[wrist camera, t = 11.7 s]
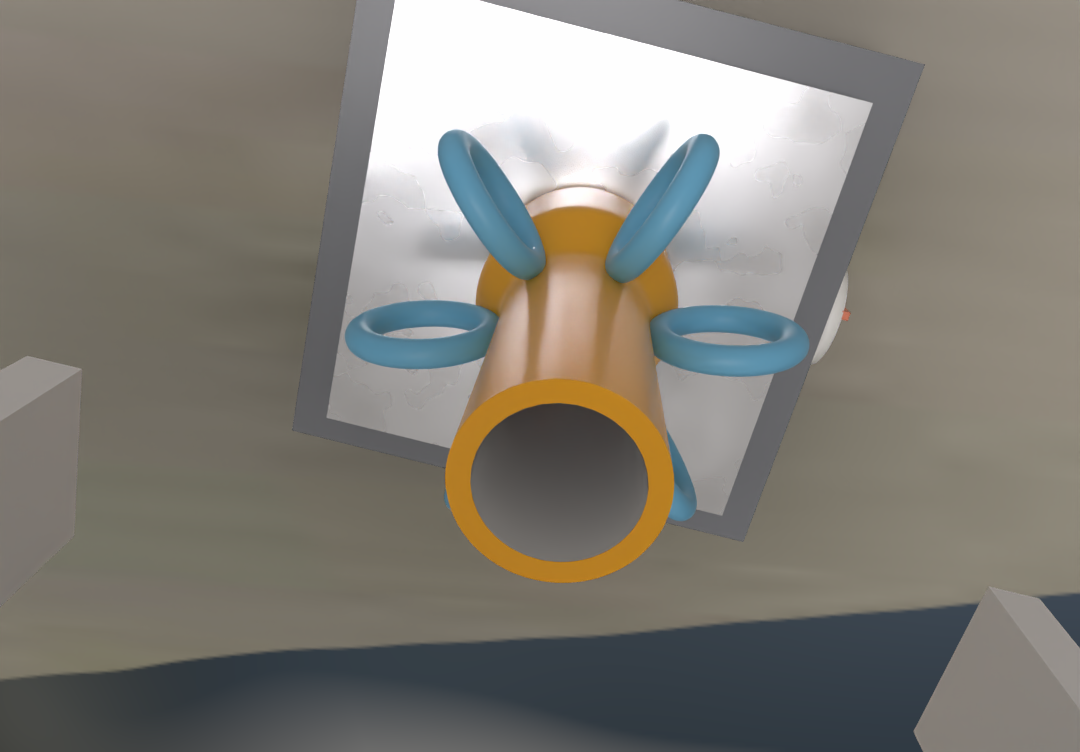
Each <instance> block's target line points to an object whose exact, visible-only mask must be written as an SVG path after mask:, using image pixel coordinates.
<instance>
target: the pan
mask: <svg viewBox="0 0 1080 752" xmlns="http://www.w3.org/2000/svg"><path fill="white" fill-rule="evenodd" d="M872 104H873V103H870V102H867V101H863V100H859V99H855V98H851V97H847V96H844V95H840V94H836V93H832V92H828V91H824V90H820V89H817V88H813V87H809V86H805V85H801V84H797V83H793V82H790V81H786V80H782V79H778V78H774V77H770V76H767V75H763V74H759V73H755V72H751V71H747V70H743V69H740V68H736V67H732V66H728V65H724V64H720V63H716V62H713V61H709V60H705V59H701V58H697V57H693V56H690V55H686V54H682V53H678V52H674V51H670V50H666V49H663V48H659V47H655V46H651V45H647V44H643V43H639V42H636V41H632V40H628V39H624V38H620V37H616V36H613V35H609V34H605V33H601V32H597V31H593V30H589V29H586V28H582V27H578V26H574V25H570V24H566V23H562V22H559V21H555V20H551V19H547V18H543V17H539V16H536V15H532V14H528V13H524V12H520V11H516V10H512V9H509V8H505V7H501V6H497V5H493V4H489V3H486V2H482V1H478V0H395V6H394V12H393V18H392V24H391V30H390V36H389V42H388V48H387V54H386V60H385V66H384V73H383V79H382V85H381V91H380V97H379V103H378V109H377V115H376V121H375V127H374V133H373V139H372V145H371V151H370V157H369V163H368V169H367V175H366V182H365V188H364V194H363V200H362V206H361V212H360V218H359V224H358V230H357V236H356V242H355V248H354V254H353V260H352V266H351V272H350V278H349V284H348V291H347V297H346V303H345V309H344V315H343V321H342V327H341V333H340V339H339V345H338V351H337V357H336V363H335V369H334V375H333V381H332V387H331V393H330V400H329V406H328V412H327V418H329V419H333V420H337V421H342V422H346V423H350V424H354V425H358V426H362V427H366V428H370V429H374V430H378V431H382V432H386V433H390V434H394V435H398V436H402V437H406V438H410V439H414V440H418V441H422V442H426V443H430V444H434V445H438V446H443V447H447V448H451V445H452V443H453V440H454V437H455V435H456V432H457V429H458V427H459V424H460V422H461V419H462V416H463V414H464V411H465V408H466V406H467V403H468V400H469V398H470V395H471V392H472V390H473V387H474V384H475V382H476V379H477V376H478V374H479V371H480V368H481V366H482V363H483V360H484V358H485V357H483V358H480V359H478V360H475V361H472V362H469V363H465V364H461V365H457V366H451V367H445V368H435V369H399V368H390V367H384V366H379V365H375V364H372V363H369V362H366V361H364V360H362V359H360V358H358V357H357V356H355V355H354V354H353V353H352V352H351V351H350V350H349V348H348V347H347V345H346V342H345V331H346V328H347V326H348V325H349V323H350V322H351V321H352V320H353V319H354V318H355V317H357V316H358V315H360V314H362V313H363V312H366V311H368V310H370V309H373V308H376V307H380V306H384V305H388V304H393V303H399V302H406V301H418V300H448V301H458V302H465V303H470V304H474V305H476V291H477V285H478V281H479V277H480V274H481V271H482V268H483V266H484V264H485V261H486V259H487V257H488V255H489V254H490V252H489V251H488V250H487V249H486V247H485V246H484V245H483V243H482V242H481V241H480V239H479V238H478V236H477V235H476V234H475V232H474V231H473V229H472V228H471V226H470V225H469V223H468V222H467V220H466V218H465V217H464V215H463V213H462V212H461V210H460V208H459V206H458V205H457V203H456V201H455V199H454V197H453V195H452V193H451V191H450V189H449V187H448V185H447V183H446V180H445V178H444V175H443V173H442V170H441V167H440V163H439V159H438V143H439V140H440V138H441V137H442V135H443V134H444V133H446V132H447V131H449V130H452V129H460V130H463V131H466V132H467V133H469V134H471V135H472V136H473V137H474V138H476V139H477V140H478V141H479V142H480V143H481V144H482V145H483V146H484V148H485V149H486V150H487V151H488V152H489V153H490V155H491V156H492V157H493V158H494V160H495V161H496V162H497V164H498V165H499V166H500V168H501V169H502V171H503V172H504V173H505V175H506V176H507V178H508V179H509V181H510V182H511V184H512V185H513V187H514V189H515V190H516V192H517V193H518V195H519V197H520V198H521V200H522V202H523V204H524V205H526V204H528V203H529V202H530V201H532V200H534V199H536V198H537V197H539V196H541V195H544V194H546V193H549V192H552V191H555V190H559V189H563V188H571V187H589V188H596V189H601V190H605V191H608V192H611V193H614V194H616V195H618V196H620V197H622V198H624V199H626V200H628V201H629V202H631V203H632V204H634V205H635V204H636V202H637V201H638V199H639V198H640V196H641V195H642V193H643V192H644V191H645V189H646V188H647V186H648V185H649V184H650V182H651V181H652V179H653V178H654V177H655V175H656V174H657V173H658V172H659V170H660V169H661V168H662V166H663V165H664V164H665V163H666V161H667V160H668V159H669V158H670V157H671V156H672V154H673V153H674V152H675V151H676V150H677V149H678V148H679V147H680V146H681V145H682V144H683V143H684V142H685V141H686V140H688V139H689V138H690V137H692V136H694V135H696V134H701V133H704V134H709V135H711V136H712V137H714V138H715V139H716V141H717V142H718V145H719V149H720V155H719V161H718V164H717V167H716V169H715V172H714V174H713V176H712V178H711V180H710V182H709V184H708V186H707V188H706V190H705V192H704V193H703V195H702V197H701V198H700V200H699V202H698V203H697V205H696V206H695V208H694V210H693V211H692V213H691V214H690V216H689V217H688V219H687V220H686V222H685V223H684V224H683V226H682V227H681V229H680V230H679V231H678V233H677V234H676V235H675V237H674V238H673V239H672V241H671V242H670V243H669V245H668V246H667V247H666V251H667V254H668V257H669V260H670V263H671V267H672V270H673V273H674V276H675V280H676V285H677V291H678V308H682V307H689V306H700V305H728V306H740V307H748V308H754V309H759V310H764V311H768V312H772V313H775V314H778V315H781V316H784V317H786V318H788V319H790V320H792V321H794V318H795V315H796V312H797V310H798V307H799V304H800V301H801V299H802V296H803V293H804V290H805V288H806V285H807V282H808V279H809V277H810V274H811V271H812V269H813V266H814V263H815V260H816V258H817V255H818V252H819V249H820V247H821V244H822V241H823V238H824V236H825V233H826V230H827V227H828V225H829V222H830V219H831V217H832V214H833V211H834V208H835V206H836V203H837V200H838V197H839V195H840V192H841V189H842V186H843V184H844V181H845V178H846V175H847V173H848V170H849V167H850V165H851V162H852V159H853V156H854V154H855V151H856V148H857V145H858V143H859V140H860V137H861V134H862V132H863V129H864V126H865V123H866V121H867V118H868V115H869V113H870V110H871V107H872ZM465 332H468V331H467V330H463V329H458V328H450V327H416V328H407V329H401V330H396V331H392V332H389V333H385V334H383V335H384V336H389V337H396V338H409V339H425V338H438V337H446V336H452V335H457V334H461V333H465ZM682 337H684V338H687V339H691V340H695V341H699V342H705V343H711V344H720V345H758V344H765V343H770V342H769V341H767V340H764V339H761V338H757V337H753V336H748V335H742V334H734V333H721V332H705V333H693V334H687V335H682ZM656 370H657V376H658V382H659V388H660V394H661V400H662V406H663V412H664V418H665V424H666V429H667V430H668V432H669V434H670V436H671V437H672V439H673V441H674V443H675V445H676V447H677V449H678V451H679V453H680V455H681V457H682V459H683V461H684V463H685V466H686V468H687V470H688V473H689V475H690V478H691V480H692V483H693V486H694V489H695V493H696V498H697V507H696V509H697V510H701V511H705V512H709V513H713V514H717V515H721V516H722V515H723V512H724V509H725V507H726V504H727V501H728V498H729V496H730V493H731V490H732V487H733V485H734V482H735V479H736V476H737V474H738V471H739V468H740V466H741V463H742V460H743V457H744V455H745V452H746V449H747V446H748V444H749V441H750V438H751V435H752V433H753V430H754V427H755V424H756V422H757V419H758V416H759V414H760V411H761V408H762V405H763V403H764V400H765V397H766V394H767V392H768V389H769V386H770V383H771V381H772V378H773V375H774V374H769V375H762V376H751V377H728V376H716V375H708V374H701V373H696V372H692V371H688V370H684V369H681V368H677V367H675V366H672V365H670V364H667V363H665V362H663V361H662V360H660V362H659V363H658V364H657V366H656Z"/></svg>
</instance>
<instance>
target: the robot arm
mask: <svg viewBox="0 0 1080 752" xmlns="http://www.w3.org/2000/svg"><path fill="white" fill-rule="evenodd" d="M81 384H82V369H80V368H76V367H72V366H68V365H64V364H60V363H55V362H51V361H47V360H43V359H39V358H35V357H30V356H26V357H24V358H22V359H20V360H18V361H17V362H15V363H13V364H11V365H9V366H8V367H6V368H4V369H2V370H0V607H1V606H2V605H3V604H4V603H5V602H6V601H7V600H8V599H9V598H10V597H11V596H12V595H13V594H14V593H15V592H16V591H17V590H18V589H19V588H21V587H22V586H23V585H24V584H25V583H26V582H27V581H28V580H29V579H30V578H31V577H32V576H33V575H34V574H35V573H36V572H37V571H38V570H39V569H40V568H41V567H42V566H44V565H45V564H46V563H47V562H48V561H49V560H50V559H51V558H52V557H53V556H54V555H55V554H56V553H57V552H58V551H59V550H60V549H61V548H62V547H63V546H64V545H66V544H67V543H68V542H69V541H70V540H71V539H72V538H73V537H74V530H75V509H76V488H77V467H78V447H79V426H80V405H81ZM914 733H915V736H916V738H917V740H918V742H919V744H920V746H921V748H922V750H923V752H1080V648H1079V647H1078V646H1077V644H1076V643H1075V642H1074V641H1073V639H1072V638H1071V637H1070V636H1069V635H1068V633H1067V632H1066V631H1065V630H1064V628H1063V627H1062V626H1061V625H1060V624H1059V622H1058V621H1057V620H1056V619H1055V617H1054V616H1053V615H1052V614H1051V612H1050V611H1049V610H1048V609H1047V608H1046V606H1045V605H1044V604H1043V603H1042V601H1041V600H1040V599H1039V598H1035V597H1031V596H1027V595H1022V594H1018V593H1014V592H1010V591H1006V590H1001V589H997V588H993V587H989V586H988V588H987V590H986V592H985V594H984V596H983V598H982V600H981V602H980V604H979V606H978V608H977V610H976V612H975V613H974V615H973V617H972V619H971V621H970V623H969V625H968V627H967V629H966V631H965V633H964V635H963V637H962V639H961V641H960V643H959V645H958V646H957V648H956V650H955V652H954V654H953V656H952V658H951V660H950V662H949V664H948V666H947V668H946V670H945V672H944V674H943V676H942V677H941V679H940V681H939V683H938V685H937V687H936V689H935V691H934V693H933V695H932V697H931V699H930V701H929V703H928V705H927V707H926V708H925V710H924V712H923V714H922V716H921V718H920V720H919V722H918V724H917V726H916V728H915V730H914Z"/></svg>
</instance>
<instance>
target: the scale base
mask: <svg viewBox="0 0 1080 752" xmlns="http://www.w3.org/2000/svg"><path fill="white" fill-rule="evenodd" d="M478 1H482V2H486V3H489V4H493V5H497V6H501V7H505V8H509V9H512V10H516V11H520V12H524V13H528V14H532V15H536V16H539V17H543V18H547V19H551V20H555V21H559V22H562V23H566V24H570V25H574V26H578V27H582V28H586V29H589V30H593V31H597V32H601V33H605V34H609V35H613V36H616V37H620V38H624V39H628V40H632V41H636V42H639V43H643V44H647V45H651V46H655V47H659V48H663V49H666V50H670V51H674V52H678V53H682V54H686V55H690V56H693V57H697V58H701V59H705V60H709V61H713V62H716V63H720V64H724V65H728V66H732V67H736V68H740V69H743V70H747V71H751V72H755V73H759V74H763V75H767V76H770V77H774V78H778V79H782V80H786V81H790V82H793V83H797V84H801V85H805V86H809V87H813V88H817V89H820V90H824V91H828V92H832V93H836V94H840V95H844V96H847V97H851V98H855V99H859V100H863V101H867V102H870V103H873V104H872V107H871V110H870V113H869V115H868V118H867V121H866V123H865V126H864V129H863V132H862V134H861V137H860V140H859V143H858V145H857V148H856V151H855V154H854V156H853V159H852V162H851V165H850V167H849V170H848V173H847V175H846V178H845V181H844V184H843V186H842V189H841V192H840V195H839V197H838V200H837V203H836V206H835V208H834V211H833V214H832V217H831V219H830V222H829V225H828V227H827V230H826V233H825V236H824V238H823V241H822V244H821V247H820V249H819V252H818V255H817V258H816V260H815V263H814V266H813V269H812V271H811V274H810V277H809V279H808V282H807V285H806V288H805V290H804V293H803V296H802V299H801V301H800V304H799V307H798V310H797V312H796V315H795V318H794V322H796V323H797V324H798V325H800V326H801V327H802V328H803V329H804V330H805V332H806V333H807V335H808V338H809V351H808V353H807V355H806V357H805V358H804V359H803V360H802V361H801V362H800V363H799V364H797V365H796V366H794V367H792V368H790V369H788V370H785V371H782V372H778V373H774V375H773V378H772V381H771V383H770V386H769V389H768V392H767V394H766V397H765V400H764V403H763V405H762V408H761V411H760V414H759V416H758V419H757V422H756V424H755V427H754V430H753V433H752V435H751V438H750V441H749V444H748V446H747V449H746V452H745V455H744V457H743V460H742V463H741V466H740V468H739V471H738V474H737V476H736V479H735V482H734V485H733V487H732V490H731V493H730V496H729V498H728V501H727V504H726V507H725V509H724V512H723V515H722V516H721V515H717V514H713V513H709V512H705V511H701V510H697V509H696V511H695V513H694V515H693V516H692V517H691V518H690V519H688V520H685V521H675V520H673V519H671V518H669V517H668V518H667V520H666V523H669V524H673V525H677V526H681V527H685V528H689V529H693V530H698V531H702V532H706V533H710V534H714V535H718V536H722V537H726V538H730V539H734V540H738V541H742V542H743V541H744V539H745V536H746V533H747V531H748V528H749V525H750V523H751V520H752V518H753V515H754V512H755V510H756V507H757V504H758V502H759V499H760V497H761V494H762V491H763V489H764V486H765V483H766V481H767V478H768V476H769V473H770V470H771V468H772V465H773V462H774V460H775V457H776V454H777V452H778V449H779V447H780V444H781V441H782V439H783V436H784V433H785V431H786V428H787V426H788V423H789V420H790V418H791V415H792V412H793V410H794V407H795V405H796V402H797V399H798V397H799V394H800V391H801V389H802V386H803V384H804V381H805V378H806V376H807V373H808V370H809V368H810V365H811V364H815V363H817V362H818V361H819V360H820V359H821V358H822V357H823V356H824V355H825V353H826V352H827V350H828V349H829V347H830V345H831V343H832V341H833V339H834V337H835V335H836V333H837V330H838V328H839V325H840V322H841V319H842V320H846V321H848V318H849V316H850V312H849V311H848V310H847V309H846V308H845V304H846V298H847V291H848V272H847V268H848V265H849V263H850V260H851V257H852V255H853V252H854V250H855V247H856V244H857V242H858V239H859V236H860V234H861V231H862V229H863V226H864V223H865V221H866V218H867V215H868V213H869V210H870V207H871V205H872V202H873V200H874V197H875V194H876V192H877V189H878V186H879V184H880V181H881V179H882V176H883V173H884V171H885V168H886V165H887V163H888V160H889V158H890V155H891V152H892V150H893V147H894V144H895V142H896V139H897V137H898V134H899V131H900V129H901V126H902V123H903V121H904V118H905V116H906V113H907V110H908V108H909V105H910V102H911V100H912V97H913V95H914V92H915V89H916V87H917V84H918V81H919V79H920V76H921V73H922V71H923V68H924V66H925V64H921V63H917V62H913V61H910V60H906V59H902V58H898V57H894V56H890V55H887V54H883V53H879V52H875V51H871V50H867V49H864V48H860V47H856V46H852V45H848V44H844V43H841V42H837V41H833V40H829V39H825V38H821V37H818V36H814V35H810V34H806V33H802V32H798V31H795V30H791V29H787V28H783V27H779V26H776V25H772V24H768V23H764V22H760V21H756V20H753V19H749V18H745V17H741V16H737V15H733V14H730V13H726V12H722V11H718V10H714V9H710V8H707V7H703V6H699V5H695V4H691V3H687V2H684V1H680V0H478ZM394 6H395V0H357V2H356V9H355V15H354V22H353V28H352V35H351V42H350V48H349V55H348V62H347V68H346V75H345V82H344V88H343V95H342V102H341V108H340V115H339V122H338V128H337V135H336V142H335V148H334V155H333V162H332V168H331V175H330V182H329V188H328V195H327V202H326V208H325V215H324V222H323V228H322V235H321V242H320V248H319V255H318V262H317V268H316V275H315V282H314V288H313V295H312V302H311V308H310V315H309V322H308V328H307V335H306V342H305V348H304V355H303V362H302V368H301V375H300V382H299V388H298V395H297V402H296V408H295V415H294V422H293V428H292V430H293V431H297V432H301V433H305V434H309V435H313V436H317V437H321V438H325V439H329V440H333V441H337V442H341V443H345V444H349V445H353V446H357V447H361V448H365V449H370V450H374V451H378V452H382V453H386V454H390V455H394V456H398V457H402V458H406V459H410V460H414V461H418V462H422V463H426V464H430V465H434V466H438V467H442V468H446V463H447V458H448V454H449V451H450V448H447V447H443V446H438V445H434V444H430V443H426V442H422V441H418V440H414V439H410V438H406V437H402V436H398V435H394V434H390V433H386V432H382V431H378V430H374V429H370V428H366V427H362V426H358V425H354V424H350V423H346V422H342V421H337V420H333V419H329V418H327V412H328V406H329V400H330V393H331V387H332V381H333V375H334V369H335V363H336V357H337V351H338V345H339V339H340V333H341V327H342V321H343V315H344V309H345V303H346V297H347V291H348V284H349V278H350V272H351V266H352V260H353V254H354V248H355V242H356V236H357V230H358V224H359V218H360V212H361V206H362V200H363V194H364V188H365V182H366V175H367V169H368V163H369V157H370V151H371V145H372V139H373V133H374V127H375V121H376V115H377V109H378V103H379V97H380V91H381V85H382V79H383V73H384V66H385V60H386V54H387V48H388V42H389V36H390V30H391V24H392V18H393V12H394Z"/></svg>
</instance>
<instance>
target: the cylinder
mask: <svg viewBox="0 0 1080 752" xmlns="http://www.w3.org/2000/svg"><path fill="white" fill-rule="evenodd" d="M719 155H720V149H719V145H718V142H717V141H716V139H715V138H714V137H712V136H711V135H709V134H704V133H701V134H696V135H694V136H692V137H690V138H689V139H688V140H686V141H685V142H684V143H683V144H682V145H681V146H680V147H679V148H678V149H677V150H676V151H675V152H674V153H673V154H672V156H671V157H670V158H669V159H668V160H667V161H666V163H665V164H664V165H663V166H662V168H661V169H660V170H659V172H658V173H657V174H656V175H655V177H654V178H653V179H652V181H651V182H650V184H649V185H648V186H647V188H646V189H645V191H644V192H643V193H642V195H641V196H640V198H639V199H638V201H637V202H636V204H635V205H634V204H632V203H631V202H629V201H628V200H626V199H624V198H622V197H620V196H618V195H616V194H614V193H611V192H608V191H605V190H601V189H596V188H589V187H571V188H563V189H559V190H555V191H552V192H549V193H546V194H544V195H541V196H539V197H537V198H536V199H534V200H532V201H530V202H529V203H528V204H526V205H524V204H523V202H522V200H521V198H520V197H519V195H518V193H517V192H516V190H515V189H514V187H513V185H512V184H511V182H510V181H509V179H508V178H507V176H506V175H505V173H504V172H503V171H502V169H501V168H500V166H499V165H498V164H497V162H496V161H495V160H494V158H493V157H492V156H491V155H490V153H489V152H488V151H487V150H486V149H485V148H484V146H483V145H482V144H481V143H480V142H479V141H478V140H477V139H476V138H474V137H473V136H472V135H471V134H469V133H467V132H466V131H463V130H460V129H452V130H449V131H447V132H446V133H444V134H443V135H442V137H441V138H440V140H439V143H438V159H439V163H440V167H441V170H442V173H443V175H444V178H445V180H446V183H447V185H448V187H449V189H450V191H451V193H452V195H453V197H454V199H455V201H456V203H457V205H458V206H459V208H460V210H461V212H462V213H463V215H464V217H465V218H466V220H467V222H468V223H469V225H470V226H471V228H472V229H473V231H474V232H475V234H476V235H477V236H478V238H479V239H480V241H481V242H482V243H483V245H484V246H485V247H486V249H487V250H488V251H489V252H490V254H489V255H488V257H487V259H486V261H485V264H484V266H483V268H482V271H481V274H480V277H479V281H478V285H477V291H476V305H474V304H470V303H465V302H458V301H448V300H418V301H406V302H399V303H393V304H388V305H384V306H380V307H376V308H373V309H370V310H368V311H366V312H363V313H362V314H360V315H358V316H357V317H355V318H354V319H353V320H352V321H351V322H350V323H349V325H348V326H347V328H346V331H345V342H346V345H347V347H348V348H349V350H350V351H351V352H352V353H353V354H354V355H355V356H357V357H358V358H360V359H362V360H364V361H366V362H369V363H372V364H375V365H379V366H384V367H390V368H399V369H435V368H445V367H451V366H457V365H461V364H465V363H469V362H472V361H475V360H478V359H480V358H483V357H485V358H484V360H483V363H482V366H481V368H480V371H479V374H478V376H477V379H476V382H475V384H474V387H473V390H472V392H471V395H470V398H469V400H468V403H467V406H466V408H465V411H464V414H463V416H462V419H461V422H460V424H459V427H458V429H457V432H456V435H455V437H454V440H453V443H452V445H451V448H450V451H449V454H448V458H447V463H446V471H445V485H446V489H445V494H444V500H445V503H446V505H447V507H448V508H449V509H450V510H451V511H452V513H453V516H454V518H455V520H456V522H457V524H458V526H459V527H460V529H461V530H462V532H463V533H464V535H465V536H466V537H467V539H468V540H469V541H470V542H471V543H472V545H473V546H474V547H475V548H476V549H477V550H479V551H480V552H481V553H482V554H483V555H484V556H486V557H487V558H488V559H490V560H491V561H492V562H494V563H495V564H497V565H499V566H500V567H502V568H504V569H506V570H508V571H510V572H513V573H515V574H518V575H520V576H523V577H526V578H530V579H534V580H539V581H545V582H554V583H572V582H581V581H587V580H592V579H596V578H599V577H602V576H605V575H608V574H610V573H613V572H615V571H617V570H619V569H621V568H623V567H625V566H626V565H628V564H629V563H631V562H632V561H634V560H635V559H636V558H638V557H639V556H640V555H641V554H642V553H643V552H644V551H645V550H646V549H647V548H648V547H649V546H650V545H651V544H652V543H653V542H654V540H655V539H656V538H657V536H658V535H659V533H660V532H661V530H662V528H663V526H664V525H665V523H666V520H667V518H668V517H669V518H671V519H673V520H675V521H685V520H688V519H690V518H691V517H692V516H693V515H694V513H695V511H696V507H697V498H696V493H695V489H694V486H693V483H692V480H691V478H690V475H689V473H688V470H687V468H686V466H685V463H684V461H683V459H682V457H681V455H680V453H679V451H678V449H677V447H676V445H675V443H674V441H673V439H672V437H671V436H670V434H669V432H668V430H667V429H666V424H665V418H664V412H663V406H662V400H661V394H660V388H659V382H658V376H657V370H656V366H657V364H658V363H659V362H660V360H662V361H663V362H665V363H667V364H670V365H672V366H675V367H677V368H681V369H684V370H688V371H692V372H696V373H701V374H708V375H716V376H728V377H751V376H762V375H769V374H774V373H778V372H782V371H785V370H788V369H790V368H792V367H794V366H796V365H797V364H799V363H800V362H801V361H802V360H803V359H804V358H805V357H806V355H807V353H808V351H809V338H808V335H807V333H806V332H805V330H804V329H803V328H802V327H801V326H800V325H798V324H797V323H796V322H794V321H792V320H790V319H788V318H786V317H784V316H781V315H778V314H775V313H772V312H768V311H764V310H759V309H754V308H748V307H740V306H728V305H700V306H689V307H682V308H678V291H677V285H676V280H675V276H674V273H673V270H672V267H671V263H670V260H669V257H668V254H667V251H666V247H667V246H668V245H669V243H670V242H671V241H672V239H673V238H674V237H675V235H676V234H677V233H678V231H679V230H680V229H681V227H682V226H683V224H684V223H685V222H686V220H687V219H688V217H689V216H690V214H691V213H692V211H693V210H694V208H695V206H696V205H697V203H698V202H699V200H700V198H701V197H702V195H703V193H704V192H705V190H706V188H707V186H708V184H709V182H710V180H711V178H712V176H713V174H714V172H715V169H716V167H717V164H718V161H719ZM416 327H450V328H458V329H463V330H467V331H468V332H465V333H461V334H457V335H452V336H446V337H438V338H425V339H409V338H396V337H389V336H384V335H383V334H385V333H389V332H392V331H396V330H401V329H407V328H416ZM705 332H721V333H734V334H742V335H748V336H753V337H757V338H761V339H764V340H767V341H769V342H770V343H765V344H758V345H720V344H711V343H705V342H699V341H695V340H691V339H687V338H684V337H682V335H687V334H693V333H705Z"/></svg>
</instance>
